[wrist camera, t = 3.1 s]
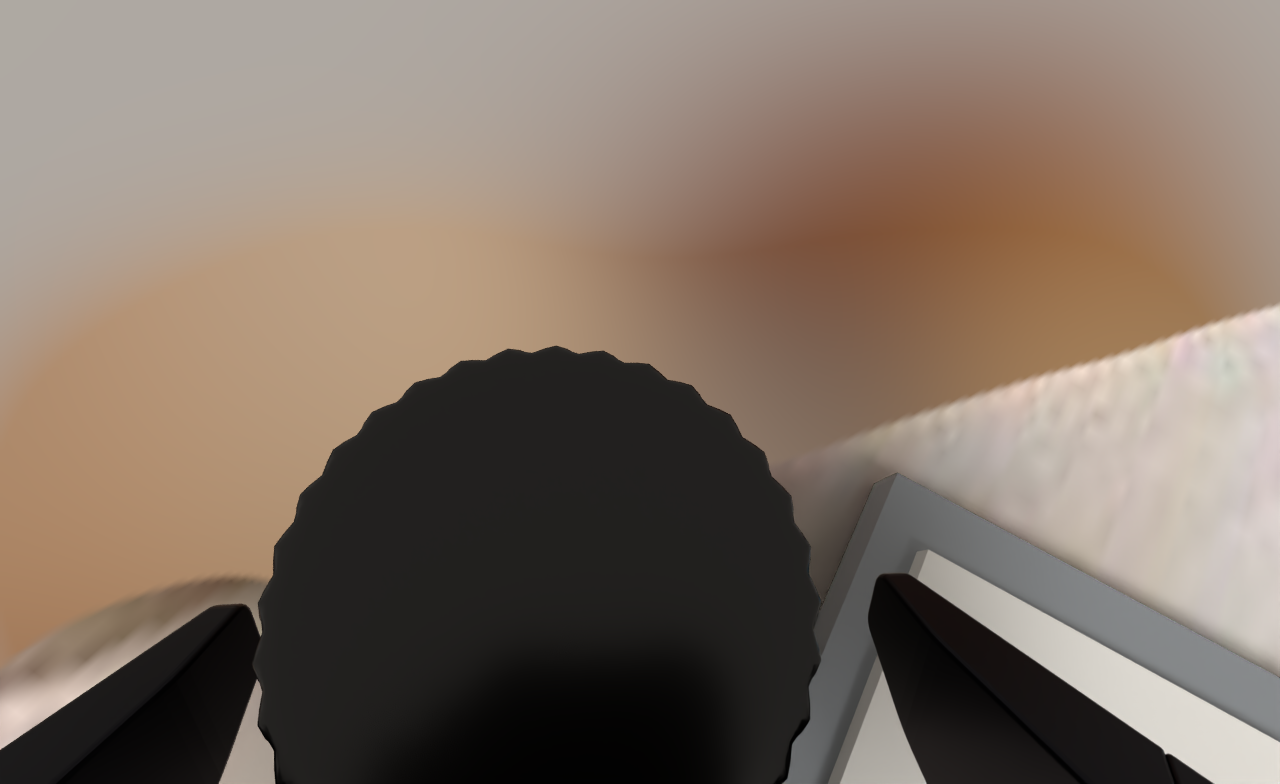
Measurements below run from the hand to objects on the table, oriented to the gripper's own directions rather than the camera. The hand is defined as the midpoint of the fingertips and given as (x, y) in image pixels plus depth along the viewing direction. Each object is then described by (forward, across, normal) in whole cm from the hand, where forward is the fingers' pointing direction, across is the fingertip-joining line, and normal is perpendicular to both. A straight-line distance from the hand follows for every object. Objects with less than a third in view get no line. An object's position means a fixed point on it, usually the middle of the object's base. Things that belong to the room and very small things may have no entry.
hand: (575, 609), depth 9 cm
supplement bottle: (+6, 0, +6) cm, 8 cm away
